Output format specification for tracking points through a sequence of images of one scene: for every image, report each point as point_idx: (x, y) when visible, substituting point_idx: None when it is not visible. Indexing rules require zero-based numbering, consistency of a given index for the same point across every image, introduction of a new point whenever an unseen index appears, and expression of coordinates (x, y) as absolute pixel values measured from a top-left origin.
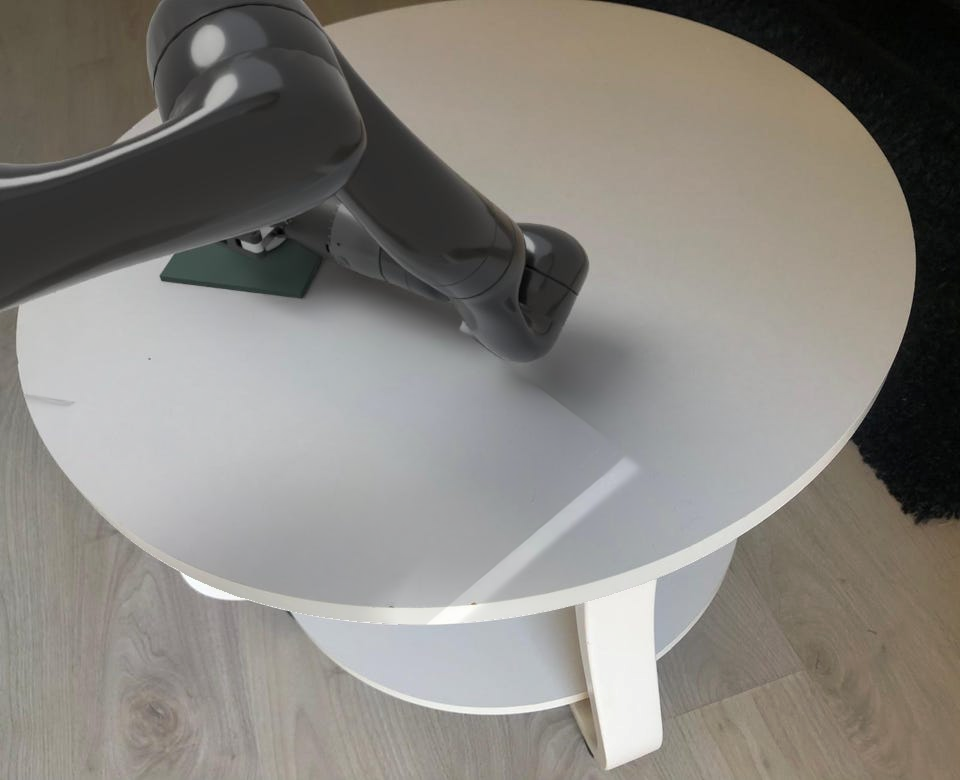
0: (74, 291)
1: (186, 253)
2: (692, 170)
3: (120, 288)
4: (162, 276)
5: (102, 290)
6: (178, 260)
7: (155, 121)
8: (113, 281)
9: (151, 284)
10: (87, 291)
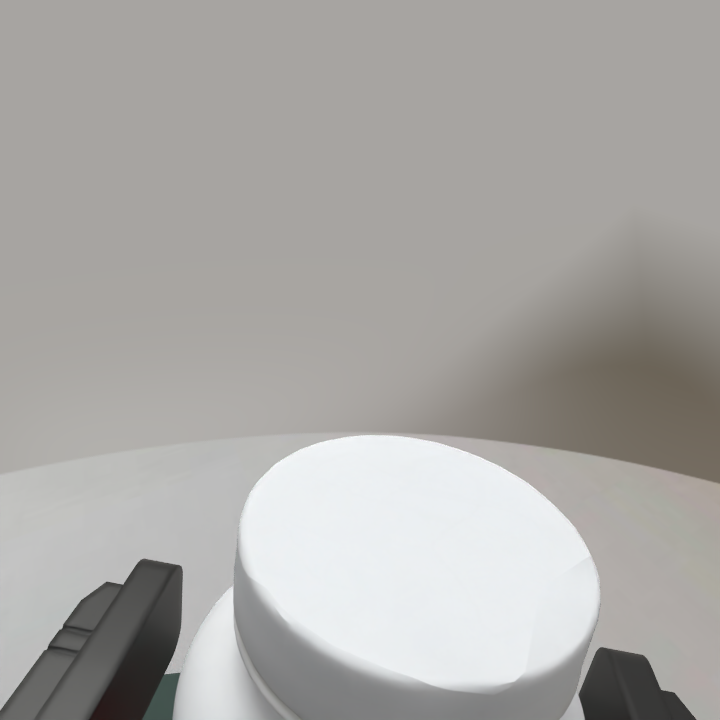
0: (7, 531)
1: (156, 712)
2: None
3: (7, 614)
4: None
5: (3, 580)
6: None
7: (545, 450)
8: (42, 586)
9: (18, 684)
10: (3, 553)
